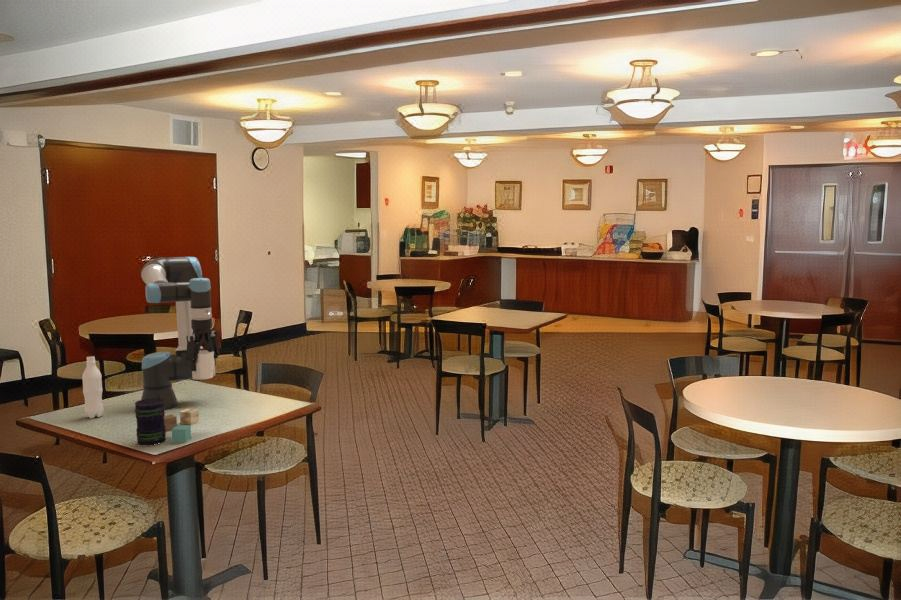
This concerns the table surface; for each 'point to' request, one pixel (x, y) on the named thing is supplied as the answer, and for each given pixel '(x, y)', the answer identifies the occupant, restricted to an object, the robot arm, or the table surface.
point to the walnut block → (170, 422)
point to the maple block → (189, 416)
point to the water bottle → (92, 389)
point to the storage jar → (150, 421)
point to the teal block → (181, 433)
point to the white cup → (205, 364)
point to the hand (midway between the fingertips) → (204, 376)
